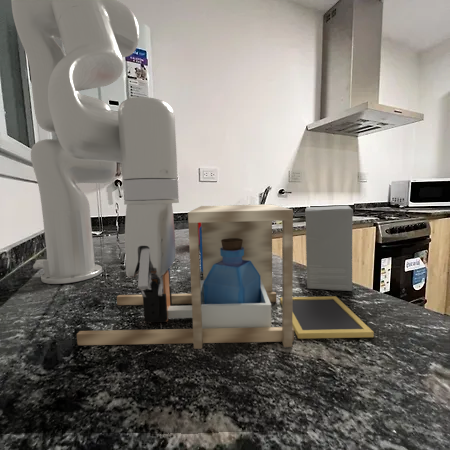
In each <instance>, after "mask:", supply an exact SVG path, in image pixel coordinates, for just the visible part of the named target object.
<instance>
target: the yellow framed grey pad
mask: <svg viewBox="0 0 450 450" xmlns="http://www.w3.org/2000/svg"><path fill="white" fill-rule="evenodd" d="M279 302H280V304H281V305H282V296H281V297H280V298H279ZM292 327H293V329H294V334H295V336H296V337H297V339H302V340H303V339H345V338H347V339H349V338H353V339H354V338H374V337H375V336H374V333H375V332H374V330H372V329H371V328H370V327H369V326H368V325H367V324H366V323H365V322H363V320H362V319H360V317H359V316H357V315H356V313H354V312H353V310H351V309H350V308H349V307H348V306H347V305H346V304H345V303H344V302H342V300H341V299H339V298H338V297H337V296H333V295H332V296H293V311H292Z"/></svg>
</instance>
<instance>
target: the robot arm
mask: <svg viewBox="0 0 450 450" xmlns="http://www.w3.org/2000/svg"><path fill="white" fill-rule="evenodd" d="M10 1H11V11H12V16H13V21H14V25H15V28H16V31H17V34H18V37H19V41H20V42H21V45H22V47H23V50H24V52H25V55H26V57H27V60H28V64H29V66H28V67H29V71H30V83H31V90H32V91H31V92H32V99H33V101H32V102H33V109H34V115H35V119H36V121H37V124H38V126H39V127H40V128H41V129H42V130H44V131H46V132H48V133H51V134H56V139H54V138H47V139H42V140H41V139H40V140H39V141H37V142H35V143H34V144H33V145H32V147H31V150H30V160H31V165H32V168H33V171H34V174H35V178H36V182H37V186H38V192H39V198H40V202H41V203H40V204H41V212H42V213H41V214H42V222H43V231H44V238H45V239H44V240H45V248H46V249H45V250H46V259H36V260H35V261H34V262H35V263H34V264H33V265H32V269H33V270H43V273H42V274H41V277H40V280H41V282H42V283H44V284H49V285H50V284H51V285H61V284H62V285H63V284H71V283H76V282H82V281H86V280H89V279H92V278H94V277H97V276H100V274H101V273H103V267H102V266H101V265H99V264H97V263H95V252H94V251H95V250H94V240H93V229H92V218H91V209H90V208H91V207H90V202H89V199H88V197H87V196H86V194H85V193H84V192H83V191H82V189H80V187H79V186H78V185H77V184H107V183H110V182H112V181H113V180H114V179H115V177H116V174H117V168H118V167H117V166H118V165H117V163H119V164H121V177H122V187H123V189H122V190H123V200H124V201H123V202H124V203H123V204H124V205H126V207H125V208H126V209H125V219H124V220H125V221H124V254H125V258H124V259H125V275H126V276H127V277H128V278H129V279H130V278H131V279H133V278H135V277H136V276H138V280H137V281H138V283H137V288H138V290H141V295H142V296H143V305H142V306H143V317H144V322H145V323H166V322H165V321H166V320H167V301H166V294H164V288H163V274H165V273H166V271H167V270H168V271H169V290H170V306H173V304H172V297H171V294H172V286H171V267H172V266H173V264H174V262H175V260H176V234H175V223H174V219H175V218H174V212H173V211H174V210H173V204H177V203H180V202H179V199H180V196H179V184H178V183H179V182H178V178H179V177H178V161H177V160H178V158H177V157H178V155H177V140H176V139H177V138H176V137H177V136H176V135H177V133H176V119H175V112H174V109H173V108H172V107H171V105H170V104H169V103H167V102H166V101H164V100H162V99H159V98H154V97H149V96H137V97H130V98H126V99H125V100H123V101H122V102H120V104H119V106H118V109H117V111H116V110H111V108H110V106H109V105H108V103H107V102H105V101H103V100H101V99H99V98H96V97H93V96H89V95H85V94H82V93H80V91H86V90H92V89H98V88H103V87H106V86H109V85H111V84H113V83H115V82H116V81H118V80H119V78H120V77H121V76H122V73H123V71H124V60H123V58H126V57H129V56H131V55H133V53H134V52H136V50H137V48H138V45H139V41H140V28H139V23H138V20H137V18H136V15H135V14H134V12H133V11H132V10H131V8H129V6H127V5H126V4H124V3H123V2H121V1H119V0H10ZM56 39H57V40H60V41H62V42H61V43H62V45H63V47H62V46H60V45H59V43H58V42H57V41H56ZM151 271H157V272H156V273H151ZM151 279H157V283H156V281H152V280H151ZM157 284H158V285H157Z"/></svg>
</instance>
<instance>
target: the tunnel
mask: <svg viewBox="0 0 450 450" xmlns="http://www.w3.org/2000/svg"><path fill="white" fill-rule="evenodd" d="M187 218H188V244H189V245H188V246H189V268H190V292H191V293H190V294H191V295H192V304H191V306H192V318H191V319H192V329H193V341H194V343H193V349H195V350H198V349H203V345H204V343H203V337H202V311H201V285H200V281H201V261H200V245H199V233H198V223H201V227H202V255H203V272H202V274H203V275H202V277H203V278H202V280H205V279H206V277H207V275H208V273H209V272H210V270H211V268H212V266H213V265H214V264H215V263H218V262H220V261H222V260H223V257H222V256H221V255H220V248H222V243H221V240H222V239H228V238H238V239H242V240H243V242H242V247H243V248H244V255H243V256H242V260H248V261H251V262H252V264H253V265H254V267H255V268H256V270H257V271H258V273H259V274H260V279H261V280H262V283H263V285H264V288H265V290H266V292H273V222H275V221H276V222H278V221H279V222H280V221H282V222H281V223H282V227H281V228H282V231H281V232H282V238H281V239H282V244H281V245H282V251H281V252H282V256H281V257H282V262H281V263H282V264H281V265H282V266H281V268H282V271H281V272H282V275H281V276H282V279H281V281H282V284H281V285H282V289H281V290H282V291H281V293H282V294H281V295H282V296H281V297H282V304H281V306H282V307H281V309H282V310H281V312H282V313H281V314H282V315H281V316H282V317H281V319H282V323H281V324H282V326H281V327H282V343H281V344H282V346H283V348H293V341H292V311H293V297H294V296H293V294H294V293H293V292H294V290H293V289H294V288H293V284H294V282H293V280H294V279H293V278H294V269H293V268H294V263H293V262H294V259H293V258H294V209H291V208H288V207H284V206H280V205H276V204H271V203H269V204H268V203H267V204H265V203H263V204H233V205H232V204H229V205H227V204H226V205H201V206H198V207H196V208H193V209H192V210H190V211H189V212H187Z"/></svg>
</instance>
